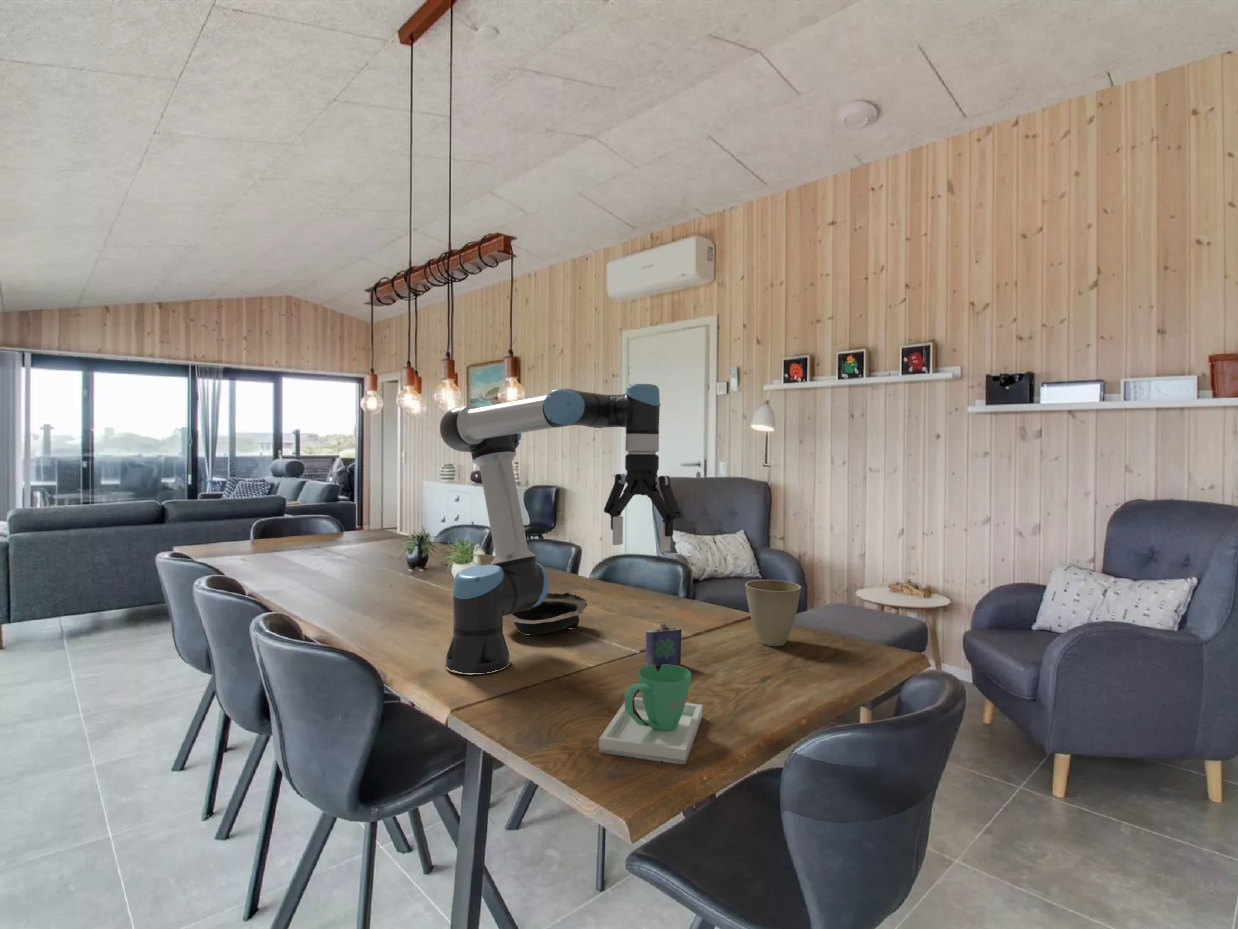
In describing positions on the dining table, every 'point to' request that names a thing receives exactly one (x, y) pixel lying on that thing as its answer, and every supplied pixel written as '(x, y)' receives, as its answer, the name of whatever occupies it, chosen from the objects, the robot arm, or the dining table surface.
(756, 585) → the plant pot
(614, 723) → the cradle tray
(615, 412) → the robot arm
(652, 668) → the mug
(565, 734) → the dining table surface
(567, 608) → the stone bowl
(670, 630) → the flask
